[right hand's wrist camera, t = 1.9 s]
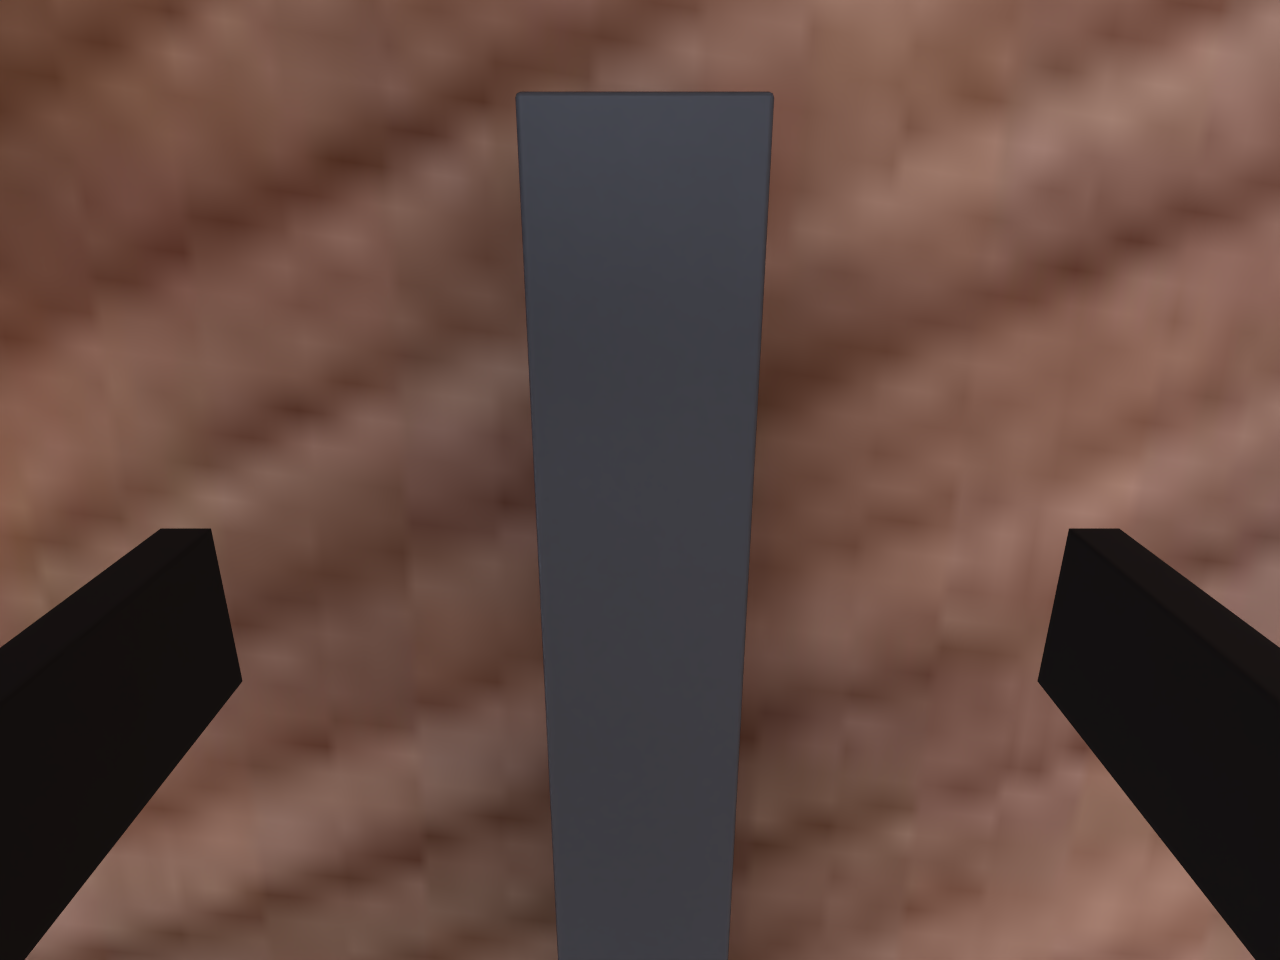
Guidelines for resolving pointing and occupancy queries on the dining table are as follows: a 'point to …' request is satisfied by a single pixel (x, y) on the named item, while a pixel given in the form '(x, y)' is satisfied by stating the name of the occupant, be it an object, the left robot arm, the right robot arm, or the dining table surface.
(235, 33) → the dining table surface
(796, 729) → the dining table surface
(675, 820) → the beam
